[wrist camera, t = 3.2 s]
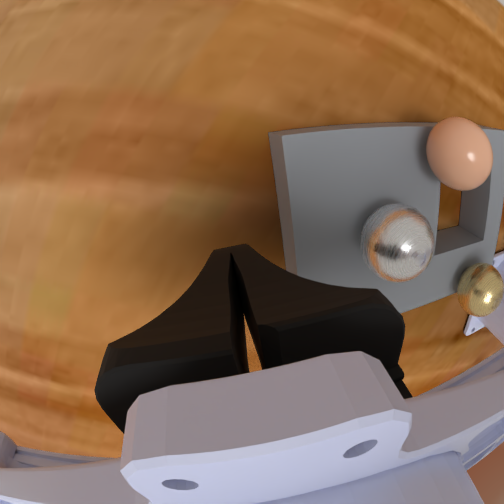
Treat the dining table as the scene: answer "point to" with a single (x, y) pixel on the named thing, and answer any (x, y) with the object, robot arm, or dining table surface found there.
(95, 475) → the robot arm
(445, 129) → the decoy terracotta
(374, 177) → the grey tray with hole
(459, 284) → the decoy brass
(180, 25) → the dining table surface
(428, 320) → the dining table surface
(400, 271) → the steel ball
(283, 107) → the dining table surface
